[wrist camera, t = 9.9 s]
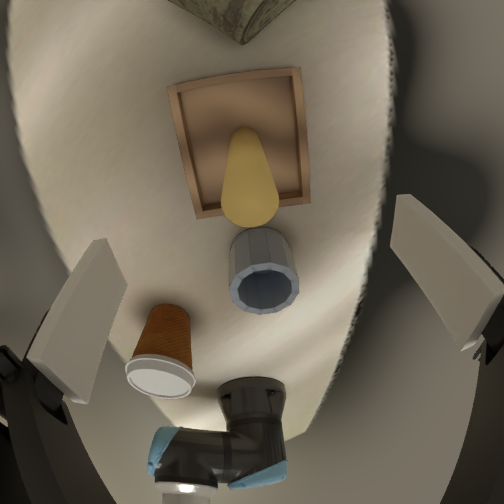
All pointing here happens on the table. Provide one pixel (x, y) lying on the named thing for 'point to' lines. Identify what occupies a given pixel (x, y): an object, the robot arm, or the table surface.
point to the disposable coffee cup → (163, 355)
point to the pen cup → (262, 271)
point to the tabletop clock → (236, 15)
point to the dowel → (248, 182)
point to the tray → (233, 118)
